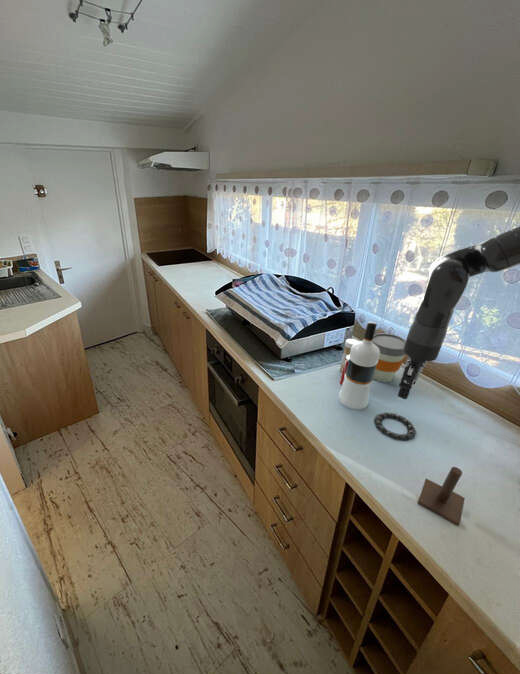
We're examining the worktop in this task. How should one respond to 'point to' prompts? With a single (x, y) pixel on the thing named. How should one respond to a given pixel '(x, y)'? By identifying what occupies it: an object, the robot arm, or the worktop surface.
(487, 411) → the worktop surface
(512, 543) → the worktop surface
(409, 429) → the ring
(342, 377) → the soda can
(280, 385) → the worktop surface
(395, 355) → the reusable coffee cup
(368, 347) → the vodka
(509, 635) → the worktop surface
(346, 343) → the sprinkles bottle
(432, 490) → the post
